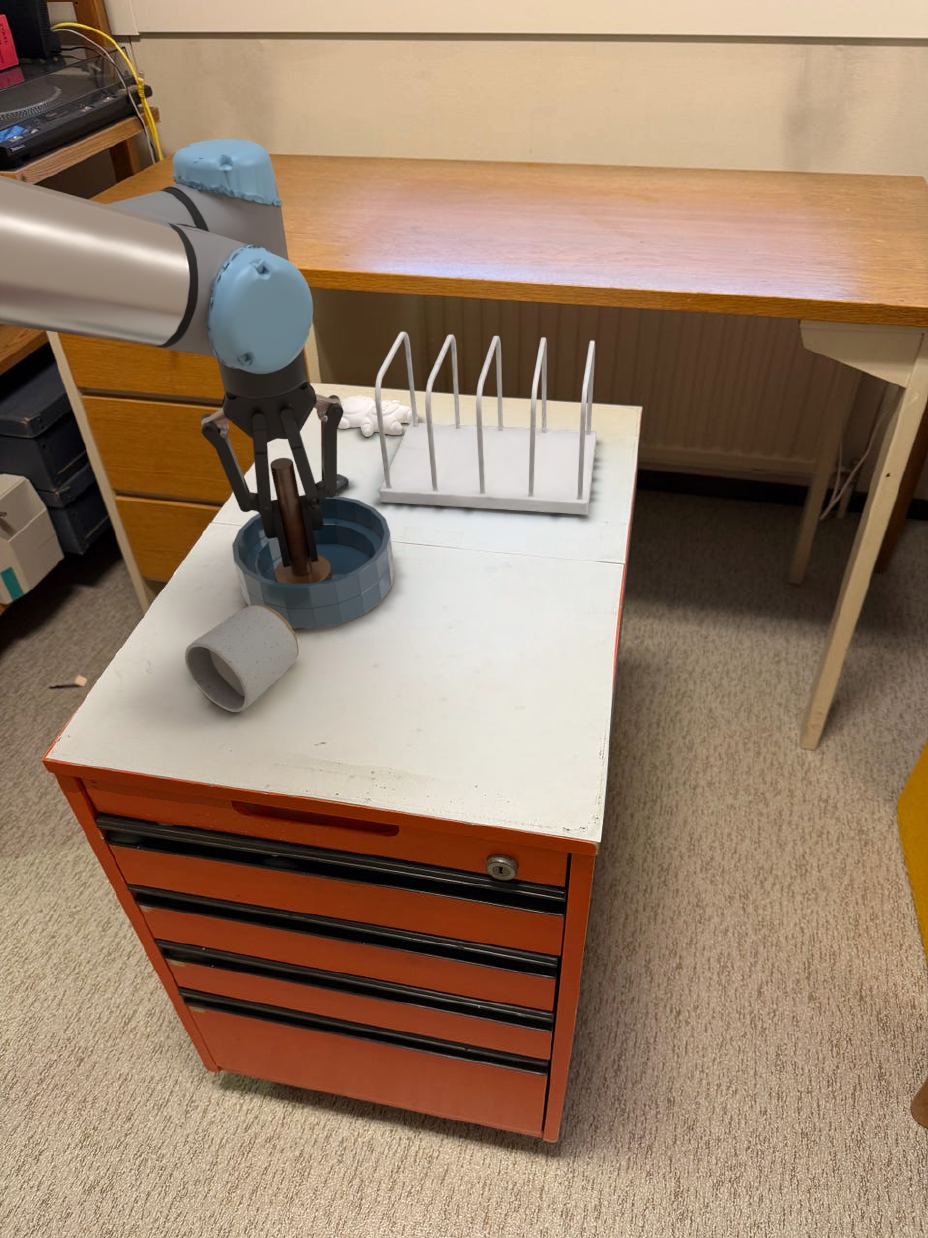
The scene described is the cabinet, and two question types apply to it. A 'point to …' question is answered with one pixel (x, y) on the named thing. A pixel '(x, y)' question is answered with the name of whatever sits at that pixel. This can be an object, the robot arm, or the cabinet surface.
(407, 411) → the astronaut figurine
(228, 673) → the ceramic mug
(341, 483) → the usb stick
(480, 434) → the file sorter
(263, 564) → the bowl
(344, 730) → the cabinet surface
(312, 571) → the wooden post on disc
